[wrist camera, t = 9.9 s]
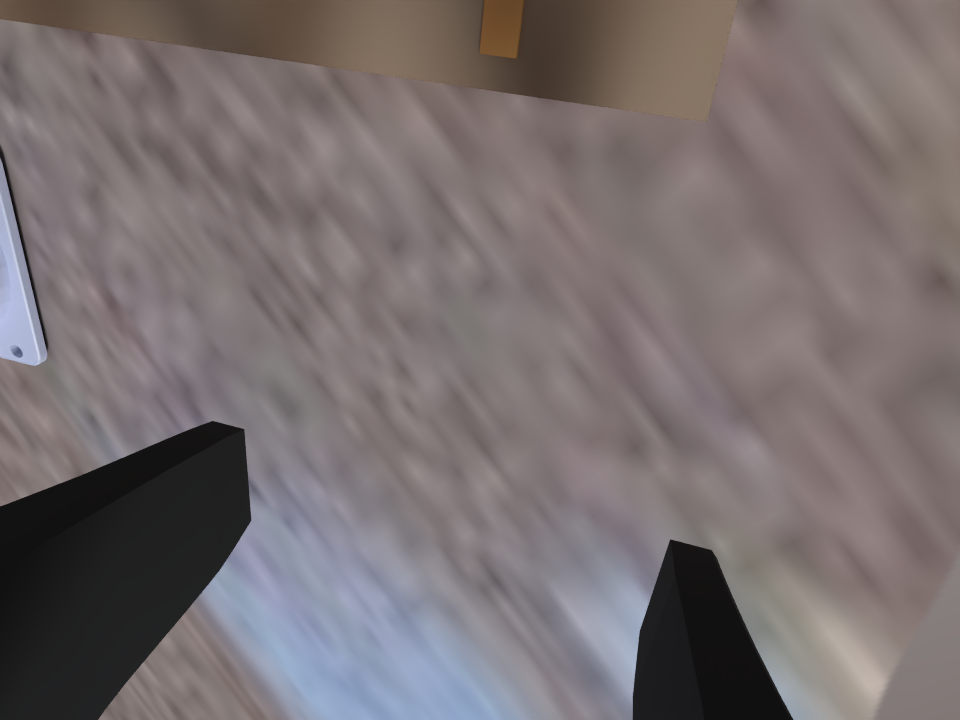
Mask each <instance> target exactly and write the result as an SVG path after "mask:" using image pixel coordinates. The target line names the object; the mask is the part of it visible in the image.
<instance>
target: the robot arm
mask: <svg viewBox="0 0 960 720" xmlns="http://www.w3.org/2000/svg"><path fill="white" fill-rule="evenodd" d="M0 357H1V358H5V359H9V360H13V361H17V362H21V363H24V364H28V365H34V366H36V365H38V364H40V363H42V362H44V361H46V359H47V350H46V346H45V342H44V338H43V333H42V329H41V325H40V321H39V316H38V312H37V308H36V304H35V299H34V295H33V291H32V287H31V282H30V278H29V274H28V270H27V265H26V261H25V257H24V253H23V248H22V244H21V240H20V236H19V231H18V227H17V223H16V219H15V215H14V210H13V206H12V202H11V198H10V193H9V189H8V185H7V181H6V176H5V172H4V168H3V164H2V161H1V158H0ZM250 522H251V511H250V498H249V485H248V472H247V459H246V446H245V433H244V429H242V428H238V427H234V426H230V425H226V424H222V423H218V422H214V421H211V422H209V423H206V424H203V425H200V426H198V427H195V428H192V429H190V430H187V431H185V432H183V433H180V434H178V435H175V436H173V437H171V438H168V439H166V440H163V441H161V442H159V443H156V444H154V445H152V446H149V447H147V448H145V449H142V450H140V451H138V452H135V453H133V454H131V455H128V456H126V457H124V458H121V459H119V460H117V461H114V462H112V463H109V464H107V465H105V466H102V467H100V468H98V469H95V470H93V471H91V472H88V473H86V474H83V475H81V476H79V477H76V478H73V479H71V480H68V481H66V482H63V483H60V484H58V485H55V486H53V487H50V488H48V489H45V490H42V491H40V492H37V493H35V494H32V495H29V496H27V497H24V498H22V499H19V500H16V501H14V502H11V503H9V504H6V505H3V506H0V720H98V719H99V718H100V716H101V715H102V713H103V712H104V710H105V709H106V708H107V706H108V705H109V704H110V703H111V701H112V700H113V699H114V697H115V696H116V695H117V694H118V692H119V691H120V690H121V688H122V687H123V686H124V685H125V683H126V682H127V681H128V680H129V679H130V677H131V676H132V675H133V674H134V673H135V671H136V670H137V669H138V668H139V667H140V665H141V664H142V663H143V662H144V661H145V659H146V658H147V657H148V656H149V655H150V654H151V652H152V651H153V650H154V649H155V648H156V646H157V645H158V644H159V643H160V642H161V640H162V639H163V638H164V637H165V636H166V634H167V633H168V632H169V631H170V630H171V629H172V627H173V626H174V625H175V624H176V623H177V621H178V620H179V619H180V618H181V617H182V615H183V614H184V613H185V612H186V611H187V610H188V608H189V607H190V606H191V605H192V603H193V602H194V601H195V600H196V599H197V597H198V596H199V595H200V594H201V593H202V591H203V590H204V589H205V588H206V586H207V585H208V584H209V583H210V582H211V580H212V579H213V578H214V577H215V575H216V574H217V573H218V572H219V570H220V569H221V567H222V566H223V564H224V563H225V561H226V560H227V558H228V557H229V555H230V554H231V552H232V551H233V549H234V548H235V546H236V544H237V543H238V541H239V539H240V538H241V536H242V535H243V533H244V531H245V530H246V528H247V526H248V525H249V523H250ZM633 720H793V718H792V716H791V715H790V713H789V711H788V709H787V707H786V705H785V703H784V702H783V700H782V698H781V696H780V694H779V692H778V690H777V688H776V686H775V684H774V682H773V680H772V678H771V676H770V674H769V672H768V671H767V669H766V667H765V665H764V663H763V661H762V659H761V657H760V655H759V653H758V651H757V649H756V647H755V645H754V642H753V640H752V638H751V636H750V634H749V632H748V630H747V628H746V625H745V623H744V621H743V619H742V617H741V614H740V612H739V610H738V608H737V606H736V603H735V601H734V599H733V596H732V594H731V592H730V589H729V587H728V585H727V582H726V580H725V577H724V575H723V573H722V570H721V568H720V565H719V563H718V560H717V558H716V556H715V555H714V553H713V552H712V550H709V549H705V548H701V547H697V546H694V545H690V544H686V543H682V542H678V541H674V540H670V542H669V545H668V548H667V551H666V554H665V557H664V560H663V563H662V566H661V569H660V572H659V575H658V578H657V581H656V584H655V587H654V590H653V593H652V596H651V599H650V602H649V605H648V608H647V611H646V614H645V617H644V620H643V623H642V626H641V629H640V635H639V644H638V653H637V662H636V671H635V681H634V691H633Z"/></svg>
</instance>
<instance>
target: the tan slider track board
mask: <svg viewBox="0 0 960 720" xmlns="http://www.w3.org/2000/svg"><path fill="white" fill-rule="evenodd" d="M737 2H738V0H0V19H4V20H11V21H18V22H25V23H31V24H38V25H45V26H52V27H59V28H66V29H73V30H79V31H86V32H93V33H100V34H107V35H114V36H121V37H128V38H134V39H141V40H148V41H155V42H162V43H169V44H176V45H182V46H189V47H196V48H203V49H210V50H217V51H224V52H230V53H237V54H244V55H251V56H258V57H265V58H272V59H278V60H285V61H292V62H299V63H306V64H313V65H320V66H326V67H333V68H340V69H347V70H354V71H361V72H368V73H374V74H381V75H388V76H395V77H402V78H409V79H416V80H422V81H429V82H436V83H443V84H450V85H457V86H464V87H470V88H477V89H484V90H491V91H498V92H505V93H512V94H518V95H525V96H532V97H539V98H546V99H553V100H560V101H566V102H573V103H580V104H587V105H594V106H601V107H608V108H614V109H621V110H628V111H635V112H642V113H649V114H656V115H662V116H669V117H676V118H683V119H690V120H697V121H704V122H706V121H707V118H708V114H709V110H710V106H711V102H712V98H713V94H714V91H715V87H716V83H717V79H718V75H719V71H720V67H721V64H722V60H723V56H724V52H725V48H726V44H727V41H728V37H729V33H730V29H731V25H732V21H733V17H734V14H735V10H736V6H737Z"/></svg>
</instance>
